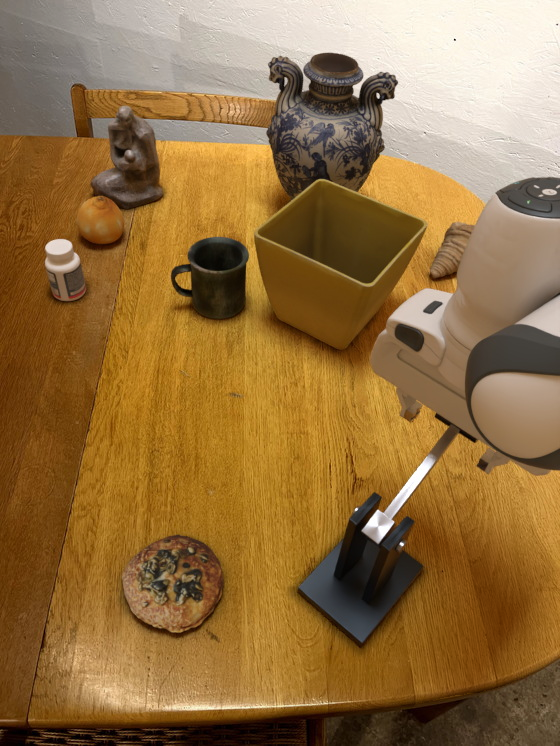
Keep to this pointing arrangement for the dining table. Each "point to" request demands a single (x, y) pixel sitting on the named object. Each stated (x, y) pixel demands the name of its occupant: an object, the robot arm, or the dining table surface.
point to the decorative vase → (326, 122)
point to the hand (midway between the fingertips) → (446, 440)
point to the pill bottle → (64, 270)
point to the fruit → (100, 220)
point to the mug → (215, 276)
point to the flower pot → (334, 259)
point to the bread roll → (173, 583)
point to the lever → (410, 486)
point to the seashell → (451, 249)
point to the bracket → (362, 576)
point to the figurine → (130, 163)
